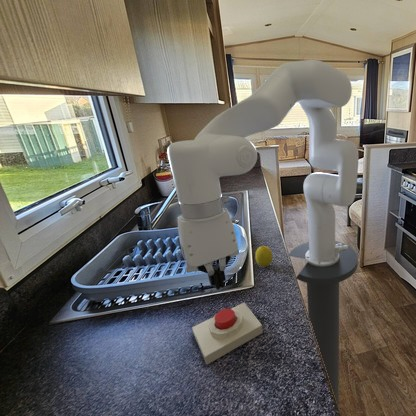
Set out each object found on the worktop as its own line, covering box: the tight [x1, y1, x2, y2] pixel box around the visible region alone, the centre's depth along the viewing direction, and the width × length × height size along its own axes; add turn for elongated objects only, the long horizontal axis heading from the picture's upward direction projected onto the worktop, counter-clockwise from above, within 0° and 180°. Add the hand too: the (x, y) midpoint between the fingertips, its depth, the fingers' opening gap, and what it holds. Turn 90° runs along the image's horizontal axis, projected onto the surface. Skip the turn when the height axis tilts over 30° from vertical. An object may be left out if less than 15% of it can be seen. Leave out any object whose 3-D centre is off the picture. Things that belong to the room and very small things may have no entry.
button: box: [214, 308, 236, 330], centre depth 60 cm, size 4×4×2 cm
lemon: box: [254, 245, 274, 268], centre depth 86 cm, size 6×6×8 cm
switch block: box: [191, 302, 264, 365], centre depth 61 cm, size 13×10×4 cm
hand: (218, 285), depth 57 cm, fingers closed
